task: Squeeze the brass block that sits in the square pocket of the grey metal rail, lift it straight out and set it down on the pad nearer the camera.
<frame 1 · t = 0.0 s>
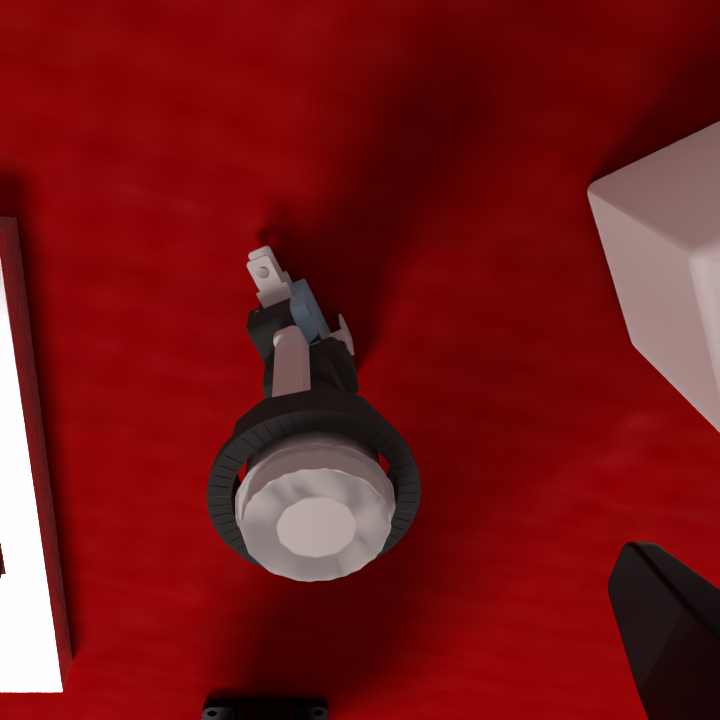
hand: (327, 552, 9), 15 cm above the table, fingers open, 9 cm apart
push button: (301, 320, 24), on the table
medicine bottle: (698, 226, 23), on the table
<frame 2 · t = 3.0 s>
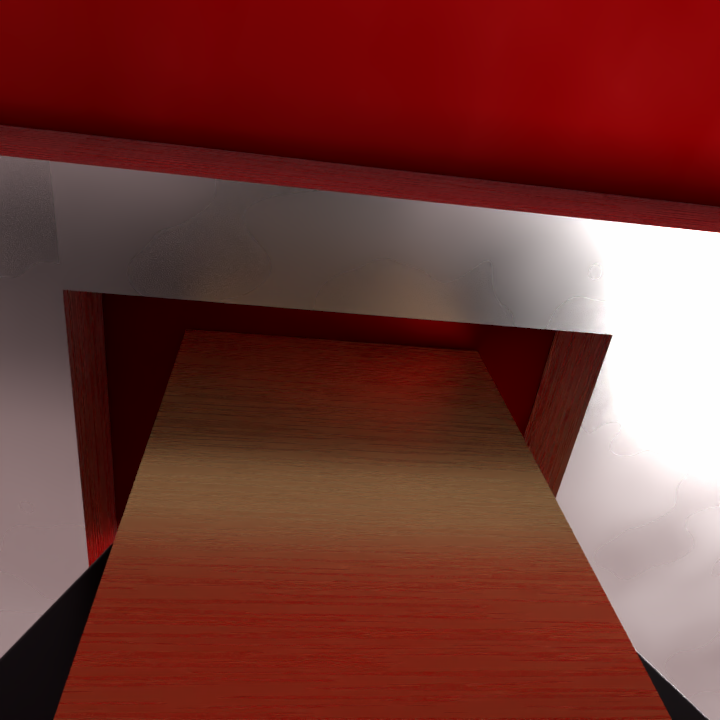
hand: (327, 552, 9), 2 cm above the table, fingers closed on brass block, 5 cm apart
rail: (321, 458, 11), on the table
brass block: (331, 628, 8), in the rail, touching gripper
when the fingers open (4 cm above the table, at t = 7.1 s): brass block drops 2 cm, resting on pad.
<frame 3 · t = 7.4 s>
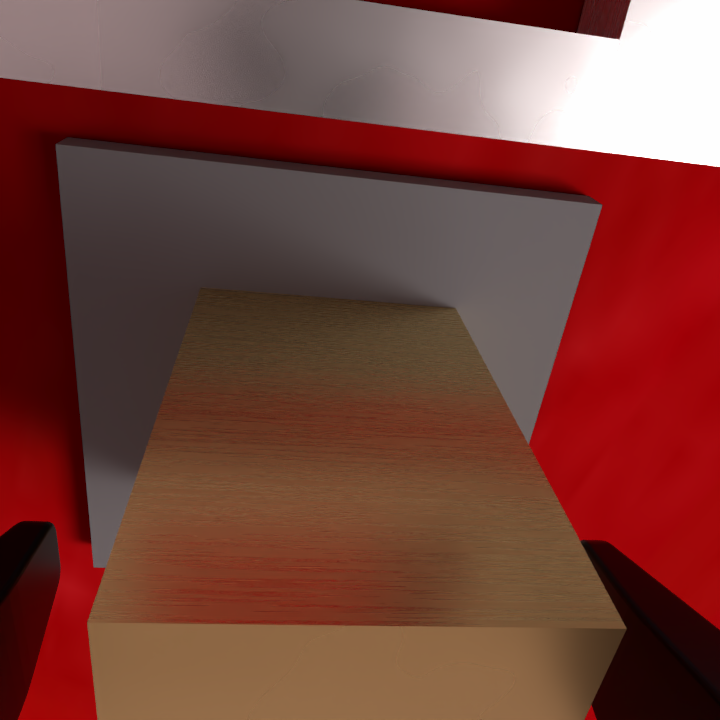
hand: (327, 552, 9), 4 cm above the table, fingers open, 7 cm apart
brass block: (327, 533, 10), on the pad, point 4 cm above the table
pad: (317, 391, 13), on the table
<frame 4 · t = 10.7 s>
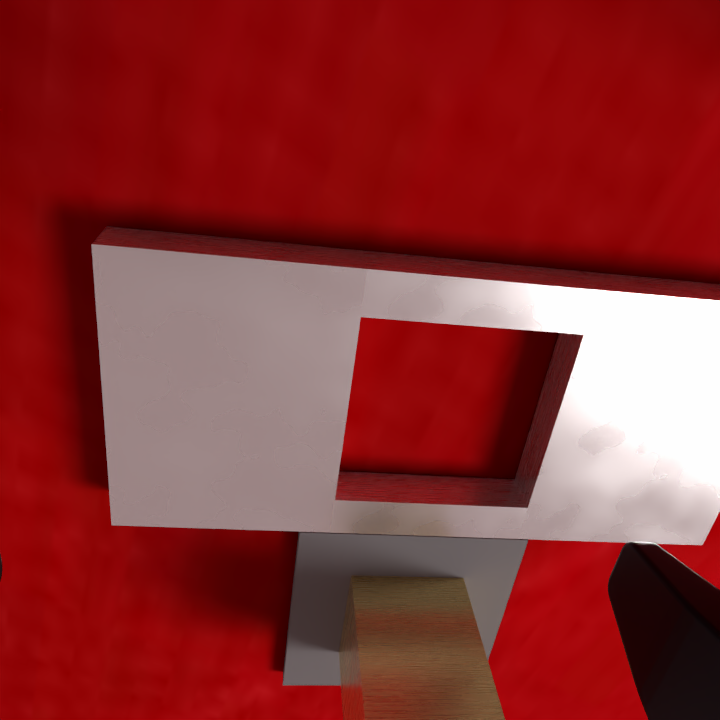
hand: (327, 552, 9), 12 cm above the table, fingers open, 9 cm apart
rail: (442, 396, 22), on the table
brass block: (412, 694, 24), on the pad, point 4 cm above the table
pad: (396, 605, 27), on the table
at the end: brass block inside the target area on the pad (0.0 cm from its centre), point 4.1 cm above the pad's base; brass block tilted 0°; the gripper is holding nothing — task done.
